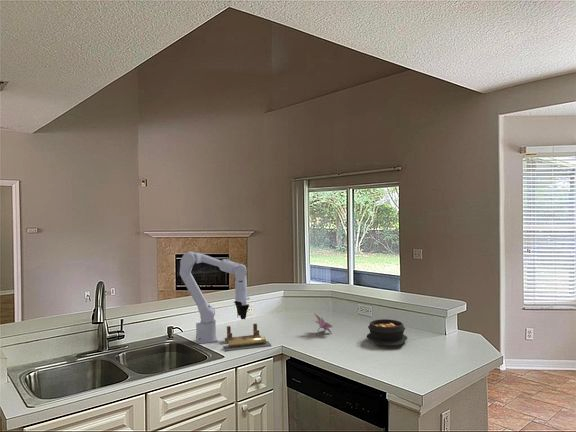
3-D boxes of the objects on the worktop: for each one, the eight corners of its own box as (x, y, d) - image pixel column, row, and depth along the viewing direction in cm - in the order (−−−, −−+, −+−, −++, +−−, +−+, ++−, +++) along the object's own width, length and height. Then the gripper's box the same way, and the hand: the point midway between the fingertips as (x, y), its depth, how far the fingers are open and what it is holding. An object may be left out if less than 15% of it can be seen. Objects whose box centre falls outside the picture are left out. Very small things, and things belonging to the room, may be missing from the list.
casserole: (412, 349, 183) (411, 330, 183) (368, 349, 185) (368, 330, 185) (402, 333, 208) (402, 316, 208) (364, 333, 210) (364, 316, 210)
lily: (333, 339, 204) (338, 320, 207) (310, 331, 203) (316, 312, 206) (326, 340, 215) (332, 322, 218) (305, 332, 214) (311, 314, 218)
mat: (225, 351, 187) (225, 350, 187) (223, 346, 193) (223, 345, 193) (271, 346, 193) (271, 345, 193) (267, 341, 199) (267, 340, 199)
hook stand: (226, 343, 198) (226, 329, 197) (224, 340, 204) (224, 326, 204) (261, 339, 202) (261, 326, 202) (259, 336, 208) (258, 323, 208)
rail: (229, 348, 189) (229, 341, 190) (228, 347, 192) (228, 340, 192) (266, 343, 194) (265, 337, 194) (264, 343, 197) (264, 336, 197)
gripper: (252, 291, 199) (252, 319, 200) (246, 286, 213) (247, 313, 213) (237, 292, 197) (238, 321, 198) (232, 287, 211) (233, 314, 211)
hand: (241, 317), depth 205 cm, fingers open, 7 cm apart
